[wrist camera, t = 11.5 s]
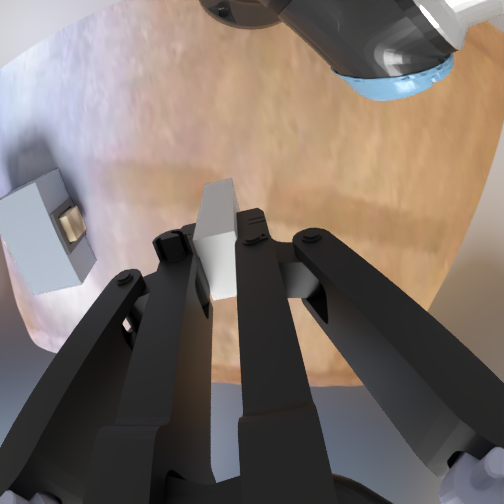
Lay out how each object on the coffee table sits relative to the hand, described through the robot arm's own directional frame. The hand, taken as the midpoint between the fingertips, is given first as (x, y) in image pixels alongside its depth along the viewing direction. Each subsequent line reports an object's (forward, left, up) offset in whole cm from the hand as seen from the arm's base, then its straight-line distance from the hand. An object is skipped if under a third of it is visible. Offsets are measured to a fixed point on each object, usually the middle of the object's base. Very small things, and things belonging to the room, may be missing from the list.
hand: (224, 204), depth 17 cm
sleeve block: (+6, -34, -29) cm, 45 cm away
